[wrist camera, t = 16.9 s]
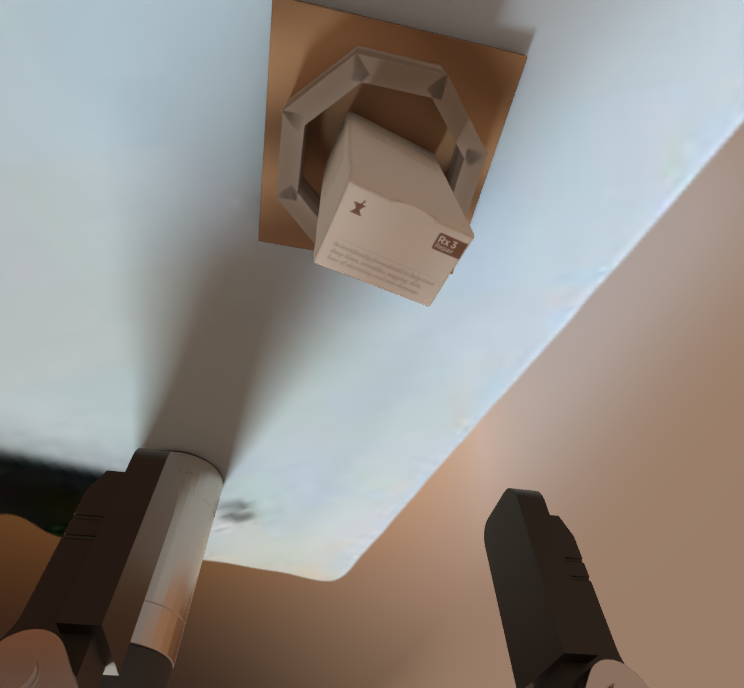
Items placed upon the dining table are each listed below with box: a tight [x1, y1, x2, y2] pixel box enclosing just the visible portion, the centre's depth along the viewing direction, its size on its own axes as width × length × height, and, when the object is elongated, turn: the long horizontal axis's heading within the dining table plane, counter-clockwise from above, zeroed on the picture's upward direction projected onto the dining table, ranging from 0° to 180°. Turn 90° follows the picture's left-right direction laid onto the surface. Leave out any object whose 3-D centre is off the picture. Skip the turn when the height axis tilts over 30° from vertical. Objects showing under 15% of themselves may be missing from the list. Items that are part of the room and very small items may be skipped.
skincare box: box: [313, 111, 474, 306], centre depth 25 cm, size 6×4×12 cm
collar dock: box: [259, 0, 527, 274], centre depth 29 cm, size 14×14×4 cm
